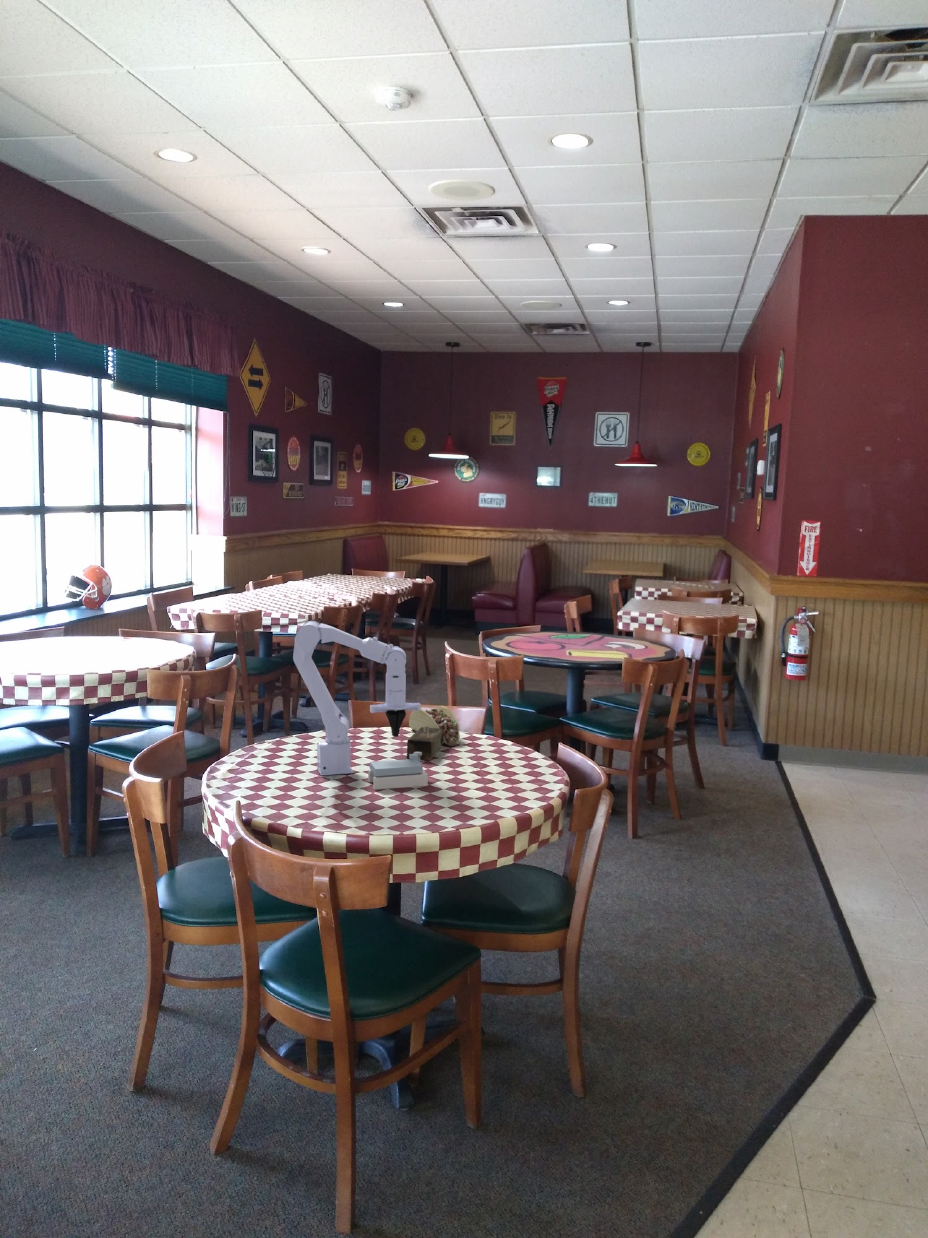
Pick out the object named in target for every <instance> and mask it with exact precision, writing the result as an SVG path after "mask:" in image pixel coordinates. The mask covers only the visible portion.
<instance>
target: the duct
mask: <svg viewBox="0 0 928 1238" xmlns="http://www.w3.org/2000/svg"><path fill="white" fill-rule="evenodd" d="M417 761H418V762H419V763H420V764H421V760H420V756H418V760H417ZM367 772H368V773H367V774H368V775H367V777H368V780H367V782H368V783H372V784H373V787H372V789H373V790H385V789H387V790H389V789H400V788H413V787H426V786H429V784H428V783H429V774H428V773H427V772H426V770H424V769H423V773H415V774H406V775H393V776H379V777H376V776H375V775H374V774H373V773H372V771H371V770H370V769H368V771H367Z"/></svg>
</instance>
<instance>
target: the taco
mask: <svg viewBox="0 0 928 1238" xmlns="http://www.w3.org/2000/svg"><path fill="white" fill-rule="evenodd" d="M408 726H409V728H410V729H412V730H413V731H415V732H417V731H418V730H419V729H420V728H421V727H425V726H428V727H429V728H440V729H443V744H444V743H445V744H444V745H447V746H450V747H455V746H456V745H457V744H459V742H460V738H461V736H460V735H461V734H460V725H459V722H458V719H457V717H456V715H455V712H453V711H452V710H451V709H449V708H447V707H446V706H444V705H439V706H437V707H435V708H431V709H429V710H427V709H422V708H421V711H417V710H413V711H412V712H411V713H410V714H409V719H408Z"/></svg>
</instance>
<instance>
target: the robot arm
mask: <svg viewBox="0 0 928 1238" xmlns="http://www.w3.org/2000/svg"><path fill="white" fill-rule="evenodd" d="M320 640H321V644H325V643H330V642H334V643H337V644H340V645H343V646H346V647H349V648H351V649H354V650H357V651H359V653H360V655H361V656H362V657H363V658H366V659H369V660H372V661H374V662H376V663H379V664H385V665H386V673H385V703H379V704H370V705H369V712H370V713H371V714H376V713H385V715H386V717H387V720H388V723H389V726H390V730H391V736H392V737H394V738H397V737H399V734H400V730H401V727H402V724H403V721H404V720H405V718H406V715H407V713H406V712H407V711H408V712H409V711H412V712H413V711H414V710H417V711H421V709H422V706H421V705H422V704H421V703H420V702H406V696H407V695H406V693H407V692H406V691H407V690H406V686H407V685H406V681H407V680H406V679H407V678H406V677H407V673H406V664H407V654H406V652H405V650H404V649H403V648H401V647H400V646H398V645H397V646H396V645H395V646H394V644H392V643H389V644H388V643H385V642H382V641H380V640H378V637H376V636H373V637H366V638H364V639H362V638H360V637H358V636H356V635H353V634H350V633H348V632H346V631H343V630H341V629H338V628H336V627H334V626H331V625H328V624H326V623H319V622H317V621H316V620H315V621H314V620H310V621H306V622H305V623H303V625H302V626H301V627H300V628H299V629H298V631H297V633H296V635H295V636H294V647H293V654H292V655H293V656H292V660H293V662H294V664H295V667H296V669H297V670H298V672H299V674H300V676H301V678H302V679H303V682H304V684H305V686H306V688H307V689H308V692H309V694H310V696H311V698H312V700H313V701H314V704H315V705H316V707H317V709H318V711H319V713H320V716H321V720H322V723H323V726H324V728H325V730H324V731H325V733H324V734H325V739H324V741H318V742H317V744H316V745H317V748H316V761H317V762H316V769H317V771H318V773H319V774H320V776H333V775H347V774H354V770H353V768H352V767H351V738H350V737H349V736H348V734H349V733H348V732H349V730H350V726H351V723H350V720H349V718H348V717H347V716H345V715H344V714H343V713H342V711H341V710H340V709H339V707H338V706H337V705H336V703H335V701H334V699H333V697H332V695H331V693H330V691H329V690H328V688H327V686H326V683H325V682H324V679H323V678H322V676H321V673H320V671H319V670H318V667H317V666H316V664H315V662H314V660H313V658H312V656H313V654H314V650H315V649H316V646H317V644H318V643H319V642H320Z"/></svg>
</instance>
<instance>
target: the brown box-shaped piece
mask: <svg viewBox="0 0 928 1238" xmlns="http://www.w3.org/2000/svg"><path fill="white" fill-rule="evenodd" d="M443 744H444V743H443V729H440V728H429V727H428V726H425V727H421V728H420V729H419V730H418V731H415V733H413V734H412V735H411V736H410V737H409V738H408V739H407V744H406V745H407V746H406V759H409V754H413V753H414V752H422V755H421V756H420V761H427V762H428V761H429V762H430V761H431V760H432V759H433V758H434V756H436V754H437V753H438V752H439V751H440V749H442V747H443Z"/></svg>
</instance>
